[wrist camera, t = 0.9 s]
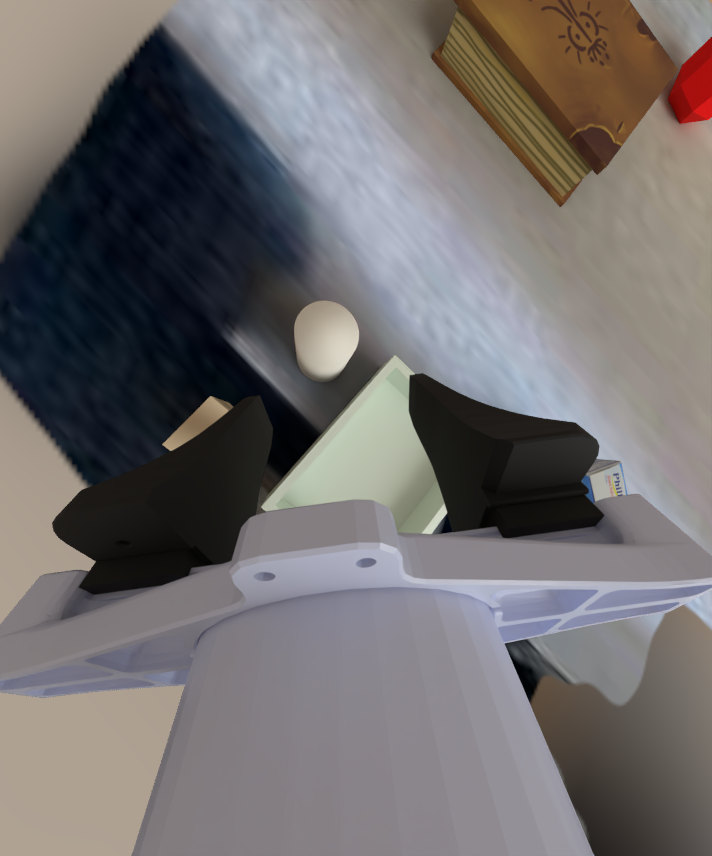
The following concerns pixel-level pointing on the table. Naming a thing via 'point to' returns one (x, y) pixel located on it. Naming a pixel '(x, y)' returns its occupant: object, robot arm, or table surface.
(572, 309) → the table surface
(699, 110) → the ball
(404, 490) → the tote
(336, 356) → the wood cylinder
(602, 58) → the diary
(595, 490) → the medicine box
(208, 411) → the oak cube
